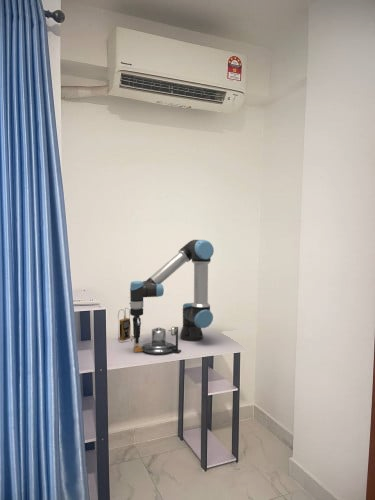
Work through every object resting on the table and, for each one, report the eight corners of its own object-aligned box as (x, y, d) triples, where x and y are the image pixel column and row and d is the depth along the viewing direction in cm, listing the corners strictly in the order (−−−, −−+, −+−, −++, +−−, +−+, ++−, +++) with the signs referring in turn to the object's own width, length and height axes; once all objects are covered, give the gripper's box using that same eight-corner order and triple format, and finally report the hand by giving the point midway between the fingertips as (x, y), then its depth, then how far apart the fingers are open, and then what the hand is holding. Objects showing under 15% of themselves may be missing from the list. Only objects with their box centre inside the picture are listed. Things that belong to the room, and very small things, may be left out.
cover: (165, 343, 221) (165, 325, 221) (169, 348, 211) (170, 329, 210) (147, 344, 218) (147, 326, 218) (151, 350, 208) (151, 331, 207)
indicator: (181, 351, 213) (181, 326, 212) (178, 353, 208) (178, 328, 208) (169, 349, 215) (170, 325, 215) (166, 352, 210) (166, 327, 210)
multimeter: (127, 344, 226) (127, 311, 226) (115, 341, 232) (115, 310, 231) (142, 338, 239) (142, 308, 238) (130, 336, 244) (130, 306, 244)
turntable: (170, 343, 227) (170, 339, 227) (179, 352, 209) (179, 348, 208) (131, 346, 220) (131, 342, 220) (137, 356, 201) (137, 352, 201)
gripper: (128, 306, 217) (128, 345, 218) (132, 310, 205) (131, 352, 206) (141, 305, 219) (140, 344, 220) (145, 309, 207) (145, 351, 208)
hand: (136, 348), depth 213 cm, fingers closed
